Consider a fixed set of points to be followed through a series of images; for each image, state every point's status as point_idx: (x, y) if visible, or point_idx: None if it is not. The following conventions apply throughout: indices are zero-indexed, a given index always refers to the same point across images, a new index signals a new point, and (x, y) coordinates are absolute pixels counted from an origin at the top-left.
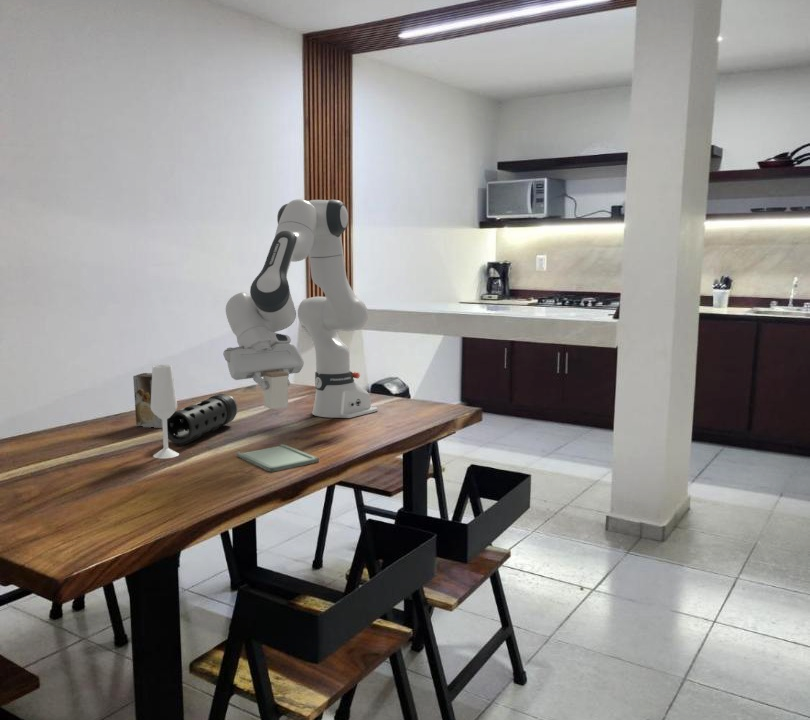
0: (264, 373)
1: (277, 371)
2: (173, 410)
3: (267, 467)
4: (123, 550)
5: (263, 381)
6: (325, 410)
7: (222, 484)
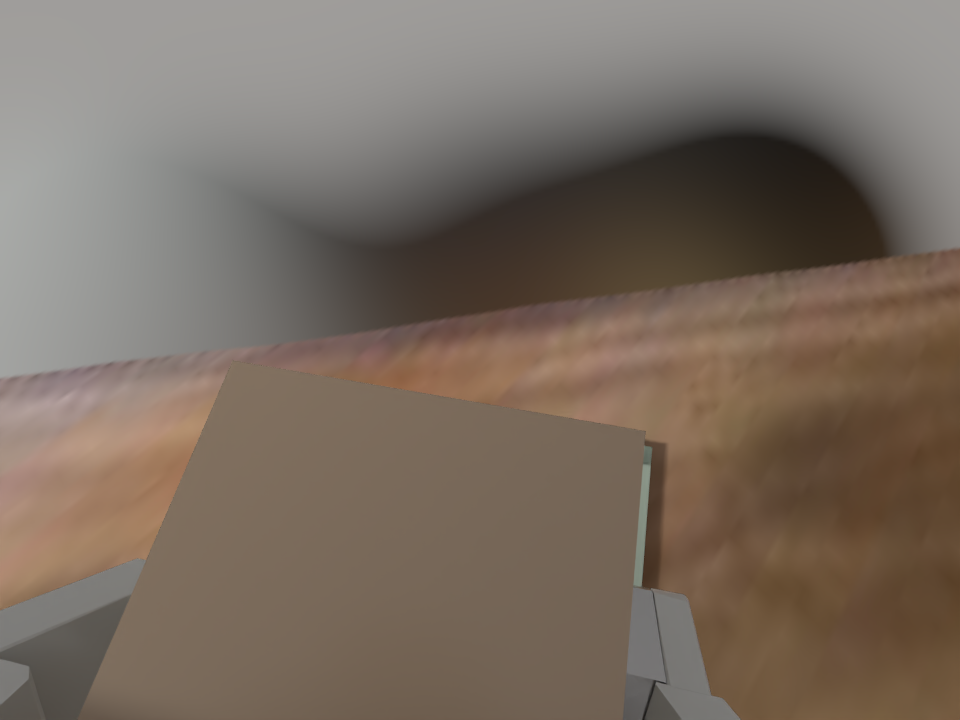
0: None
1: (236, 683)
2: None
3: (649, 477)
4: None
5: (695, 674)
6: None
7: (914, 476)
